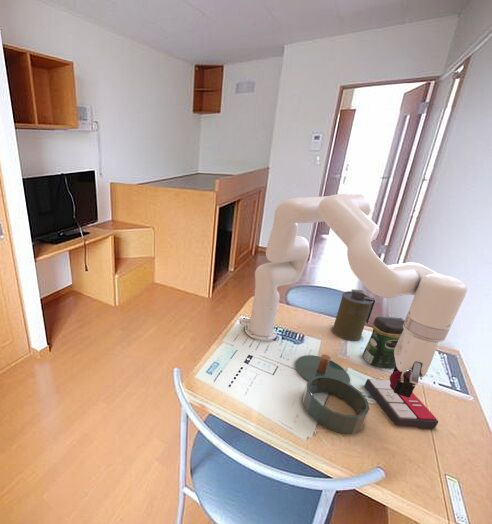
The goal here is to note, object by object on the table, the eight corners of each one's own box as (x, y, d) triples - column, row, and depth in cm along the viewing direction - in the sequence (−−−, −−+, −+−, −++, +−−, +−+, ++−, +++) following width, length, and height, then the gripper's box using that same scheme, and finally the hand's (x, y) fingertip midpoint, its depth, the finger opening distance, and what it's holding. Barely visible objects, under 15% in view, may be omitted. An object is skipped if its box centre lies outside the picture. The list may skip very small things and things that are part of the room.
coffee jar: (385, 356, 115) (400, 314, 108) (398, 370, 108) (416, 326, 101) (357, 354, 116) (371, 312, 109) (369, 368, 109) (385, 324, 102)
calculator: (399, 417, 85) (367, 376, 99) (394, 428, 87) (363, 386, 100) (440, 420, 84) (402, 378, 98) (434, 430, 86) (397, 388, 100)
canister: (334, 337, 126) (346, 294, 118) (330, 324, 135) (342, 283, 127) (365, 343, 122) (380, 299, 115) (359, 329, 131) (372, 288, 123)
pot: (302, 421, 88) (307, 404, 86) (302, 385, 101) (306, 369, 99) (366, 443, 82) (374, 426, 79) (358, 402, 95) (364, 386, 92)
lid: (294, 381, 103) (298, 364, 100) (295, 352, 117) (299, 337, 114) (352, 398, 96) (358, 381, 93) (346, 366, 110) (351, 350, 107)
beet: (413, 399, 74) (421, 380, 72) (387, 391, 77) (395, 372, 75) (410, 386, 78) (418, 368, 76) (386, 378, 81) (393, 361, 78)
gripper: (400, 306, 79) (379, 362, 86) (410, 340, 66) (384, 403, 73) (438, 315, 75) (413, 373, 82) (457, 352, 62) (425, 417, 69)
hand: (400, 386), depth 77 cm, fingers closed on beet, 5 cm apart
